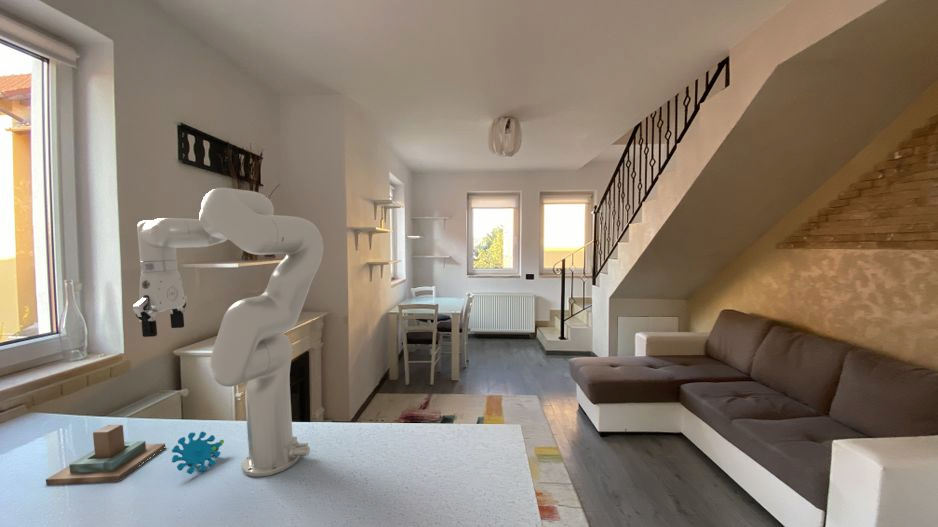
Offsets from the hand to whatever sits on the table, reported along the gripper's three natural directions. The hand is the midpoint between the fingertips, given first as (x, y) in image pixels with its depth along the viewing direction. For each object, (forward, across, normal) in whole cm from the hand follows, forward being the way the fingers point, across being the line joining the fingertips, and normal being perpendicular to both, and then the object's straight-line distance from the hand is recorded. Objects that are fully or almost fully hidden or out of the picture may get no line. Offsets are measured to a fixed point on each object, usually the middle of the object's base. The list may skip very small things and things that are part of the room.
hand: (164, 331), depth 102 cm
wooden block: (+29, -10, +8) cm, 32 cm away
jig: (+30, -10, +8) cm, 33 cm away
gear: (+31, -12, -15) cm, 36 cm away
